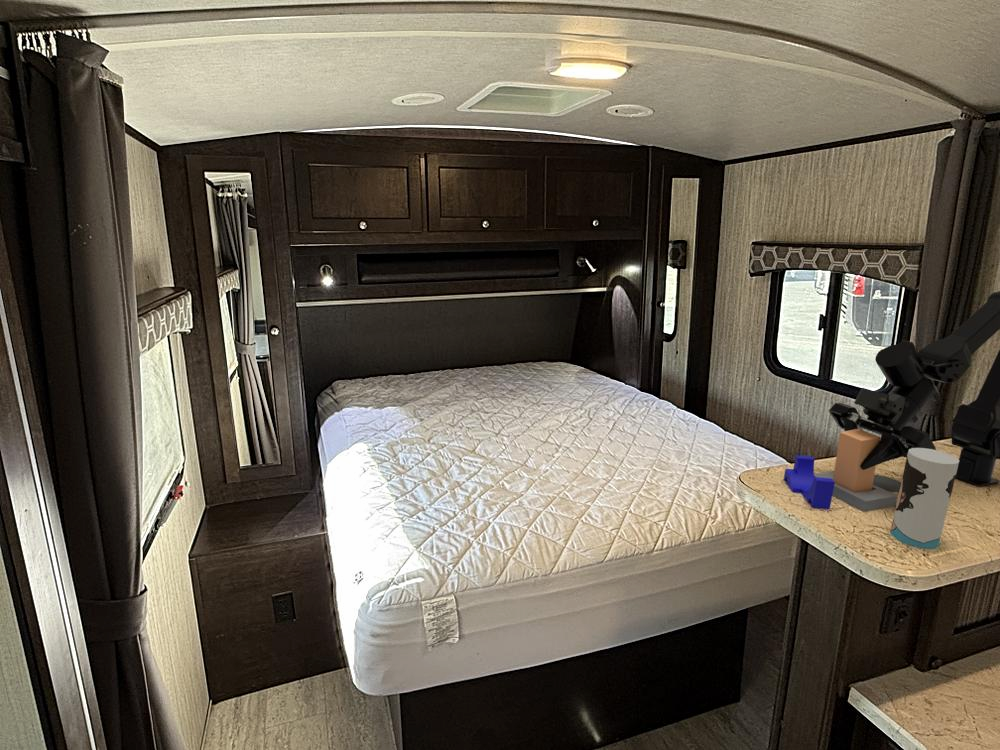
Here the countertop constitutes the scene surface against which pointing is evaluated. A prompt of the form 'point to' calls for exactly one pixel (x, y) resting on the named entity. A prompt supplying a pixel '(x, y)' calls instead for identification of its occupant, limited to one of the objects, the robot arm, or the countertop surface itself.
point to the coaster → (887, 483)
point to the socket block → (862, 496)
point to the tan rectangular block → (854, 460)
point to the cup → (924, 497)
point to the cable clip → (809, 483)
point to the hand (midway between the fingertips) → (849, 463)
